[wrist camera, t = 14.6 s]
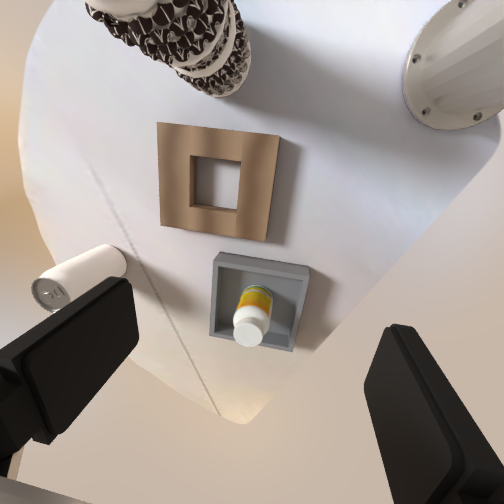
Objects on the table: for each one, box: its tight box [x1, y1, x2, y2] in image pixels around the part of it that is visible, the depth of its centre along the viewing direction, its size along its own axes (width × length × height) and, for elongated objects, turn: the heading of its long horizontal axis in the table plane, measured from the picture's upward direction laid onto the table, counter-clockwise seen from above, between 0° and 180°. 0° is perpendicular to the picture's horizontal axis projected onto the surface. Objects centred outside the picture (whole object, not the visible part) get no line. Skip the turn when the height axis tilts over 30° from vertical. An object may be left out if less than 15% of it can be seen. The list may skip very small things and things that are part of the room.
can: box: [31, 245, 127, 313], centre depth 38 cm, size 6×6×12 cm
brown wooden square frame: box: [157, 122, 280, 242], centre depth 34 cm, size 16×14×2 cm
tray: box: [209, 252, 310, 352], centre depth 40 cm, size 14×14×4 cm
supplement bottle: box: [233, 285, 273, 347], centre depth 37 cm, size 5×5×10 cm
